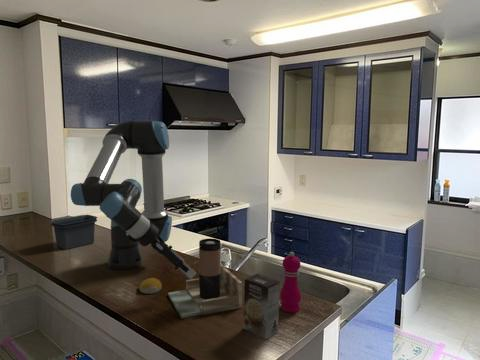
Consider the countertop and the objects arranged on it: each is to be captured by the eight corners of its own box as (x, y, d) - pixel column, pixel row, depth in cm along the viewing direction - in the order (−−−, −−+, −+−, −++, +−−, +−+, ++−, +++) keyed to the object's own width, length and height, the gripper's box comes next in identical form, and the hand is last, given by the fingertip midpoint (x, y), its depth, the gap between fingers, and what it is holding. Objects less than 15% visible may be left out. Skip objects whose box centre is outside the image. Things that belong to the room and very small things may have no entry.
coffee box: (242, 329, 113) (243, 278, 111) (255, 321, 118) (256, 272, 116) (266, 340, 107) (267, 286, 105) (279, 331, 112) (280, 280, 110)
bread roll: (161, 284, 147) (160, 274, 147) (161, 293, 138) (161, 283, 138) (139, 285, 145) (139, 276, 145) (138, 295, 136) (138, 284, 136)
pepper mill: (275, 308, 127) (276, 251, 125) (288, 301, 132) (289, 247, 130) (292, 315, 122) (293, 256, 120) (305, 308, 127) (307, 252, 125)
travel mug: (224, 294, 134) (224, 240, 132) (212, 302, 128) (212, 245, 125) (207, 289, 138) (207, 237, 136) (194, 297, 131) (194, 242, 129)
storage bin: (61, 252, 184) (60, 224, 183) (47, 246, 194) (45, 219, 192) (100, 243, 201) (100, 217, 199) (85, 238, 210) (84, 213, 209)
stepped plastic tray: (167, 294, 137) (167, 271, 136) (220, 286, 145) (220, 263, 144) (182, 319, 119) (182, 292, 118) (241, 307, 127) (242, 282, 126)
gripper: (128, 230, 131) (171, 266, 138) (141, 250, 108) (190, 291, 116) (143, 214, 132) (184, 250, 140) (159, 230, 110) (207, 272, 118)
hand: (187, 269), depth 128 cm, fingers open, 13 cm apart
